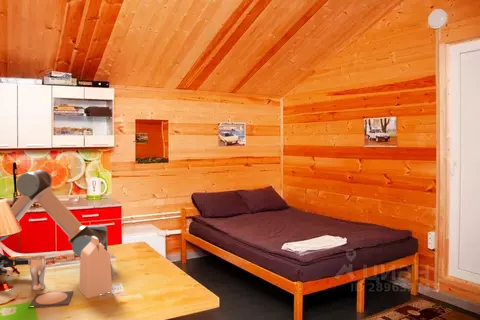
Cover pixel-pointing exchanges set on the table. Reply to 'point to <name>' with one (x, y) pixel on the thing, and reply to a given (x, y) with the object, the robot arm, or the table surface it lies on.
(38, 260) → the beer glass
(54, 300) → the mat
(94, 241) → the milk
